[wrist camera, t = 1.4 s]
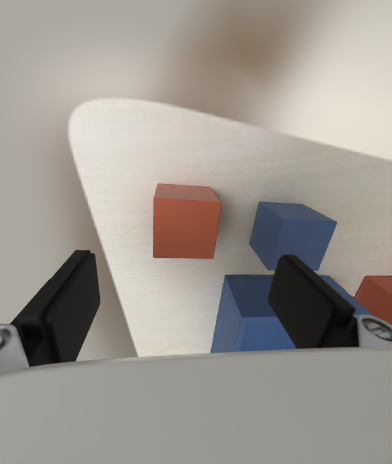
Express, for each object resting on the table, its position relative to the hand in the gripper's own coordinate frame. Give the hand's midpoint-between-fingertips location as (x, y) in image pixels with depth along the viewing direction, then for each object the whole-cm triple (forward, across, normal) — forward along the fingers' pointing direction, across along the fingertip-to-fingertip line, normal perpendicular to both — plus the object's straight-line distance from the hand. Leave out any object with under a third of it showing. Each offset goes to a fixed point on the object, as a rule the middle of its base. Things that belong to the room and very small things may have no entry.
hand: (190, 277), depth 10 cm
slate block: (+9, -9, 0) cm, 12 cm away
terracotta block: (+9, 0, -1) cm, 9 cm away
